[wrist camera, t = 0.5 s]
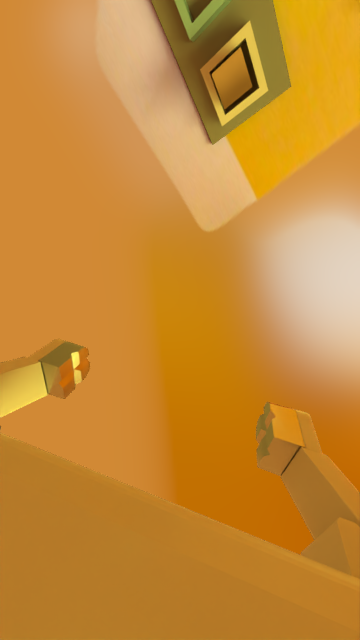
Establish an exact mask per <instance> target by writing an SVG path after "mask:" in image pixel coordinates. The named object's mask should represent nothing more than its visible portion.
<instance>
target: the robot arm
mask: <svg viewBox="0 0 360 640" xmlns="http://www.w3.org/2000/svg"><path fill="white" fill-rule="evenodd" d="M88 355H89V351H88V349H87V348H86V347H83V346H80V345H77V344H74V343H71V342H67V341H64V340H61V339H55V340H53V341H52V342H50V343H49V344H47V345H46V346H44V347H43V348H41V349H40V350H38V351H37V352H35V353H34V354H32V355H30V356H29V357H21V358H17V359H13V360H10V361H6V362H2V363H0V417H2V416H5V415H7V414H9V413H11V412H13V411H15V410H17V409H19V408H21V407H23V406H25V405H28V404H29V403H32V402H34V401H36V400H38V399H40V398H42V397H44V396H46V395H48V394H50V395H53V396H56V397H60V398H63V399H65V398H66V397H67V396H68V395H69V394H70V393H71V392H72V391H73V390H74V389H75V385H76V384H77V383H79V382H82V381H83V380H84V378H86V376H87V374H88V372H89V369H90V362H89V361H88V359H87V357H88ZM0 429H1V426H0ZM256 440H257V441H258V443H259V446H258V448H257V467H258V468H261V469H264V470H266V471H269V472H272V473H274V474H277V475H280V476H281V479H282V481H283V483H284V485H285V486H286V488H287V490H288V492H289V494H290V496H291V498H292V499H293V501H294V503H295V505H296V507H297V509H298V510H299V512H300V514H301V516H302V518H303V520H304V522H305V524H306V526H307V527H308V529H309V531H310V533H311V535H312V537H313V539H314V541H313V542H312V543H311V544H310V545H309V546H308V547H307V548H306V549H305V550H303V551H302V552H301V555H299V554H297V553H294V552H292V551H289V550H287V549H284V548H282V547H280V546H277V545H274V544H272V543H270V542H267V541H265V540H262V539H260V538H257V537H255V536H253V535H250V534H248V533H245V532H243V531H240V530H237V529H235V528H233V527H231V526H228V525H226V524H223V523H221V522H218V521H216V520H213V519H211V518H208V517H206V516H204V515H201V514H199V513H196V512H194V511H191V510H189V509H186V508H184V507H182V506H179V505H177V504H174V503H172V502H169V501H167V500H165V499H162V498H160V497H157V496H155V495H152V494H150V493H147V492H145V491H142V490H140V489H138V488H135V487H133V486H130V485H128V484H125V483H123V482H120V481H118V480H115V479H113V478H110V477H108V476H106V475H103V474H101V473H98V472H96V471H93V470H91V469H88V468H86V467H84V466H81V465H79V464H76V463H74V462H71V461H69V460H67V459H64V458H62V457H59V456H57V455H54V454H52V453H49V452H47V451H44V450H42V449H40V448H37V447H34V446H32V445H30V444H27V443H25V442H22V441H20V440H17V439H15V438H13V437H10V436H8V435H5V434H3V433H0V640H360V492H359V491H358V490H357V489H356V488H355V487H354V485H352V483H351V482H350V481H349V480H348V479H347V478H346V476H345V475H344V474H343V473H342V472H341V471H340V469H339V468H338V467H337V466H336V465H335V464H334V463H333V462H332V460H331V459H330V458H329V457H328V456H327V455H325V454H322V451H321V448H320V445H319V441H318V438H317V435H316V432H315V429H314V426H313V423H312V420H311V417H310V415H309V414H308V413H306V412H302V411H299V410H295V409H291V408H288V407H284V406H281V405H278V404H274V403H270V402H267V403H266V404H265V406H264V414H262V415H260V417H259V419H258V422H257V427H256Z"/></svg>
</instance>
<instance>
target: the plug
mask: <svg viewBox="0 0 360 640" xmlns="http://www.w3.org/2000/svg"><path fill="white" fill-rule="evenodd" d="M212 77H213V79H214V82H215V85H216V88H217V90H218V93H219V96H220V99H221V101H222V104H223V107H224V109H226V108H227V107H228V106H229V105H231V104H232V103H233V102H234V101H236V100H237V99H238V98H239V97H241V96H242V95H243V94H244V93H245V92H247V91H248V90H249V89H250V88H252V83H251V80H250V76H249V73H248V69H247V66H246V62H245V59H244V56H243V52H242V49H241V47H240V48H239V49H238V50H237V51H236V52H235V53H234V54H232V55H231V56H230V57H229V58H228V59H227V60H226V61H225V62H224V63H223V64H222V65H221V66H220V67H219V68H218V69H217V70H216V71H214V72H213V73H212Z"/></svg>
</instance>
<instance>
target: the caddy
mask: <svg viewBox="0 0 360 640" xmlns="http://www.w3.org/2000/svg"><path fill="white" fill-rule="evenodd" d="M151 1H152V4H153V6H154V8H155V11H156V13H157V15H158V18H159V20H160V22H161V25H162V27H163V29H164V32H165V34H166V37H167V39H168V41H169V44H170V46H171V48H172V51H173V53H174V55H175V58H176V60H177V62H178V65H179V67H180V69H181V72H182V74H183V77H184V79H185V81H186V84H187V86H188V88H189V91H190V93H191V95H192V98H193V100H194V102H195V105H196V107H197V110H198V112H199V114H200V117H201V119H202V121H203V124H204V126H205V128H206V131H207V133H208V135H209V138H210V140H211V142H212V145H213V144H215V143H216V142H217V141H219V140H220V139H221V138H223V137H224V136H225V135H227V134H228V133H229V132H231V131H232V130H233V129H235V128H236V127H237V126H239V125H240V124H242V123H243V122H244V121H246V120H247V119H248V118H250V117H251V116H252V115H254V114H255V113H256V112H258V111H259V110H260V109H262V108H263V107H264V106H266V105H267V104H268V103H270V102H271V101H272V100H274V99H275V98H276V97H278V96H279V95H280V94H282V93H283V92H284V91H286V90H287V89H288V88H290V87H291V84H290V79H289V74H288V70H287V65H286V60H285V56H284V51H283V46H282V41H281V37H280V32H279V27H278V23H277V18H276V13H275V9H274V4H273V0H151ZM240 47H241V49H242V52H243V56H244V59H245V62H246V66H247V69H248V73H249V76H250V80H251V83H252V88H250V89H249V90H248V91H247V92H245V93H244V94H243V95H242V96H241V97H239V98H238V99H237V100H236V101H234V102H233V103H232V104H231V105H229V106H228V107H227V108H226V109H224V107H223V104H222V101H221V99H220V96H219V93H218V90H217V88H216V85H215V82H214V79H213V77H212V73H213V72H214V71H216V70H217V69H218V68H219V67H220V66H221V65H222V64H223V63H224V62H225V61H226V60H227V59H228V58H229V57H230V56H231V55H232V54H234V53H235V52H236V51H237V50H238V49H239V48H240Z"/></svg>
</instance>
